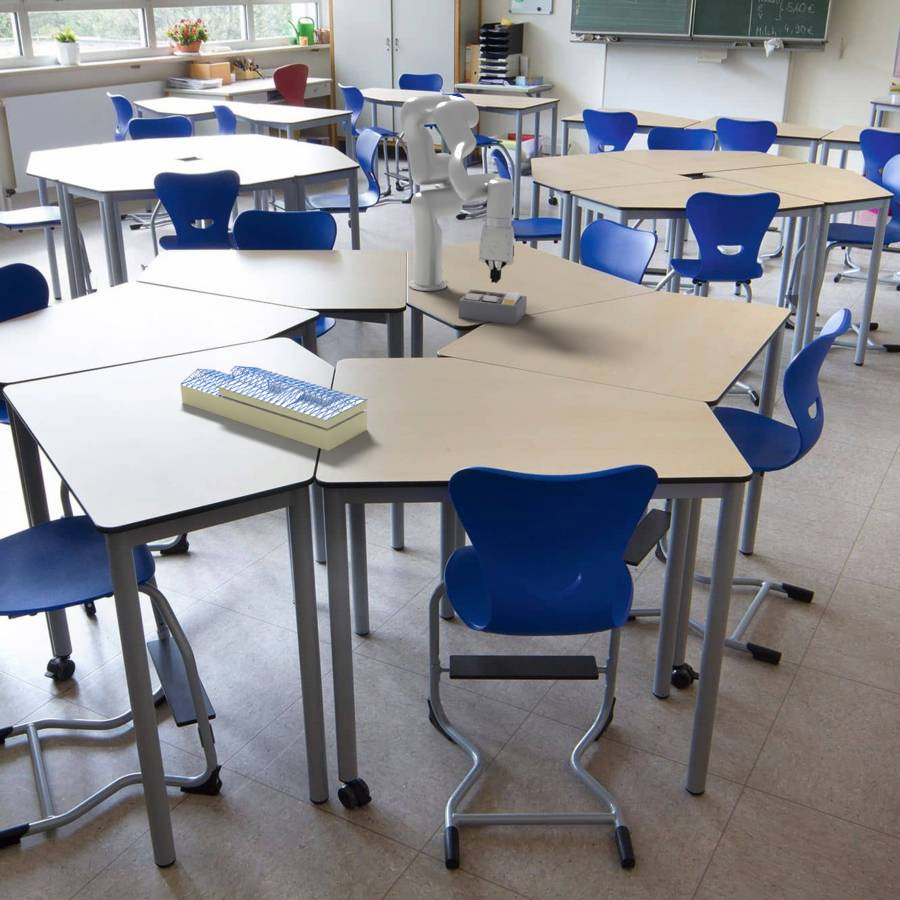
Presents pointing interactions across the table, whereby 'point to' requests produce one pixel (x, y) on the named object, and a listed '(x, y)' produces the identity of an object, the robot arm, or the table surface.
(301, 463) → the table surface
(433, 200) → the robot arm
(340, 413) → the keyboard
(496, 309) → the grey storage tray
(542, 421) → the table surface
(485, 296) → the outlet rocker
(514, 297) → the rocker outlet
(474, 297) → the outlet rocker
